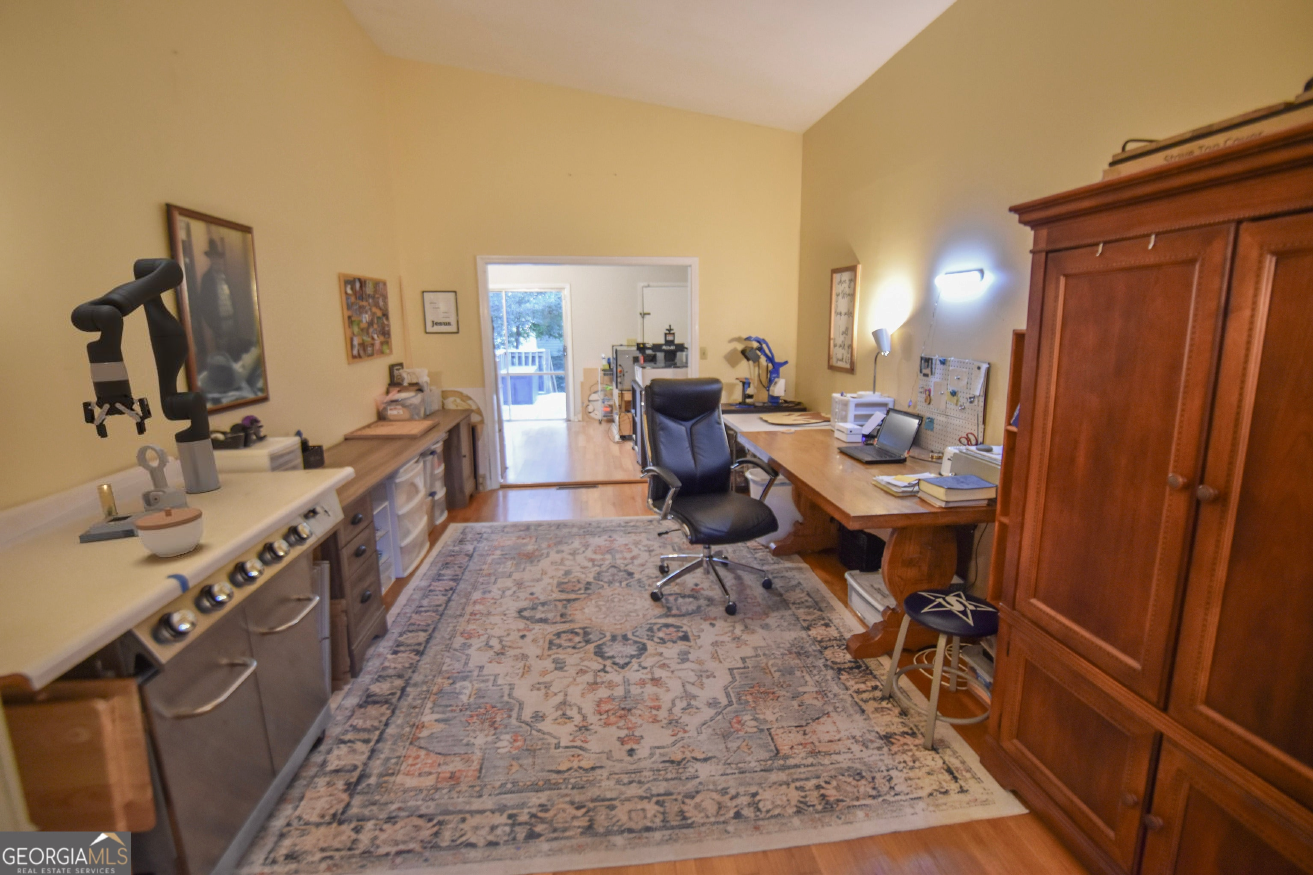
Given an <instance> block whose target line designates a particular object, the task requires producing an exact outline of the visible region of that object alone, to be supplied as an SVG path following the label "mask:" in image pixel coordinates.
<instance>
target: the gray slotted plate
mask: <svg viewBox="0 0 1313 875" xmlns="http://www.w3.org/2000/svg"><path fill="white" fill-rule="evenodd" d="M183 508H185V507H183ZM174 509H182V508H174ZM174 509H171V510H174ZM163 511H164V510H157V511H149V512H145V511H140V512H133V513H125V514H123V513H122V514H118V515H115V516H108V517H106V518H105V517H103V519H101V520H99V521H97V522H96V523H93V524H92V525H90V526H89V529H88V530H86V531H84V532H83V533H81V534H80V535H78V539H79V543H80V544H84V543H91V542H100V541H106V540H108V541H109V540H113V539H114V540H115V539H122V538H130V537H139V535H138V531H137V529H136V526H135V522H136V521H137V520H139V519H141V518H143V517H146V516H149V515H152V514H155V513H159V512H163Z"/></svg>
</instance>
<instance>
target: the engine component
mask: <svg viewBox="0 0 1313 875" xmlns="http://www.w3.org/2000/svg"><path fill="white" fill-rule="evenodd" d="M149 450H150V451H153V452H154V453H155V454H156V455H157V457H158V463H157V465H156V466H155V465H152V464H151V463H150V462H149V461H148V458H147V451H149ZM168 456H169V455H168V453H167V451H165V450H164V449H163V448H162V447H161V446H160V445H158V444H154V443H150V444H146V445H143V446H141V447H139V448H138V450H137V453H136V456H135V457H136V461H137V464H138V467H141V468H142V469H144V470H145V471H147V472H148V473H149V476H150V480H151V483H152V485H153V489H149V490H145V491H144V492H141V493H140V495H141V501H142V505H143V510H144V512H149V511H157V510H164V509H166V508H171V509H174V508H183V507H185V508H189V504H188V499H187V495H186V489H185V486H183V487H182V488H180V489H176V488H175V487H171V486H169V485H168V481H167V477H166V474H165V470H164V469H165V468H166V467H167V464H169V463H170V460H169V457H168Z"/></svg>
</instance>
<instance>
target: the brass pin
mask: <svg viewBox="0 0 1313 875" xmlns="http://www.w3.org/2000/svg"><path fill="white" fill-rule="evenodd" d="M96 488H97V493H98V496H99V500H100V505H101V508H102V512H103V513H102V514H103V518H106V517H108V516H115V515H119V513H118V510H117V506H116V502H115V497H114V493H113V488H112V484H111V483H104V484H100V485H97V486H96Z"/></svg>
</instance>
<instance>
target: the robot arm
mask: <svg viewBox="0 0 1313 875" xmlns="http://www.w3.org/2000/svg"><path fill="white" fill-rule="evenodd" d="M132 267H133V270H132V271H133V276H134V280H131V281H128V282H126V283H123V284H120V285H118V286H116V287H114V288H113V289H111V290H110V291H108V292H106V293H105V294H104V295H102V296H101V297H98V298H94V299H92V300H89V301H86V302H84V303H81V304H79V305H78V306H76V307H75V308H74V309H73V310H72V312H71V314H70V321H71V323H72V325H73V326H74V327H75V328H76V329H77V330H79V331H81V332H85V333H99V332H100V336H99V338H98V339H97V340H94V341H90V342H87V344H86V353H87V357H88V361H89V371H90V378H91V381H92V386H93V389H94V395H95V397H96V400H95V401H91V400H88V401H84V402H82V407H83V408H82V410H83V415H84V416H83V417H84V422H85V423H86V424H91V425H94V426H95V430H96V434H97V436H98V437H100V439H105V438H108V437H109V435H108V430H107V426H106V423H105V421H107V419H108V418H109V416H110V417H113V416H117V415H118V416H124V415H127V416H128V417H130V418H132V419H133V420H134V421H136V422H135V427H136V431H137V432H136V433H137V435H138V436H141V435H145V433H146V432H147V427H146V424H145V421H146V420H148V419H151V418H152V417H153V416H152V412H151V408H150V405H149V401H148V398H147V397H146V396H145V397H140V398H134V397H133V395H132V394H133V393H132V389H131V384H130V379H129V374H128V370H127V366H126V364H125V362H124V361H125V360H124V357H123V350H122V342H123V341H122V340H123V334H124V333H123V332H124V325H125V324H124V322H125V320H124V318H125V317H128V316H129V315H130V314H132V313H133V312H135V311H136V310H137V309H138V308H140V307H141V306H142V307H143V310H144V313H145V318H146V323H147V328H148V335H149V339H150V345H151V349H152V354H153V358H154V361H155V362H154V363H155V366H156V367H155V368H156V371H157V372H156V373H157V380H158V389H159V390H158V391H159V400H160V406H161V407H160V408H161V410H162V414H163V415H164V417H165V418H166V420H168V421H170V422H171V421H172V422H174V421H189V420H190V425H189V427H187V428H184V429H183V430H180V431H177V432H176V433H175V434H174V439H175V440H174V441H175V444H176V449H177V450H176V451H177V454H178V460H179V463H180V469H181V473H182V478H183V482H184V489H185V493H187V494H199V493H205V492H210V491H214V490H217V489H219V488H221V483H220V478H219V473H218V468H217V467H218V466H217V463H216V458H215V454H214V453H215V452H214V448H213V444H212V439H211V434H210V433H211V432H210V430H211V429H210V427H211V426H210V421H209V414H208V408H207V407H208V406H207V401H206V399H205V397H204V395H203V394H202V392H200V391H197V390H196V391H194V390H193V391H178V387H177V386H178V384H177V382H178V376H179V374H180V371H181V370H182V367H183V366H184V364H185V362H186V360H187V357H188V355H189V354H190V347H189V342H188V336H187V332H186V329H185V328H184V326H183V325H182V324H181V322H180V321H179V320H178V319H177V317H175V316H174V315H173V313H171V312H170V311H169V309H168V308H167V306H166V305H165V303H164V301H163V298H162V294H164V293H165V292H169V291H171V290H172V289H175V288H177V287H179V286H181V284H182V283H183V281H184V271H183V269H182V266H181V265H180V264H179V263H178V262H177V261H176V260H174V259H171V258H168V257H167V258H166V257H159V258H158V257H156V258H138V259H137V260H136V261H135V262H134V264H133V266H132ZM135 404H136V405H137V406H138V407H139V408H140V413H139V411H138V410H137V409H136V408H135V407H134V406H135ZM96 407H98V409H100V411H99V412H98V414H97V416H96V414H95V409H96Z"/></svg>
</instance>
